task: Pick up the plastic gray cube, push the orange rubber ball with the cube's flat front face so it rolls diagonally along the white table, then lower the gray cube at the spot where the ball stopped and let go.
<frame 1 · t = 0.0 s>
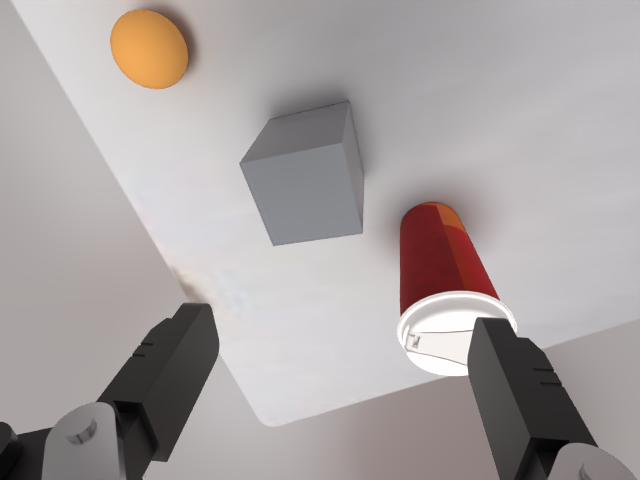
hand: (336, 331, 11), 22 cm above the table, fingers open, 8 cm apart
ball: (150, 51, 25), on the table
paper cup: (429, 225, 35), on the table
gray cube: (318, 149, 31), on the table
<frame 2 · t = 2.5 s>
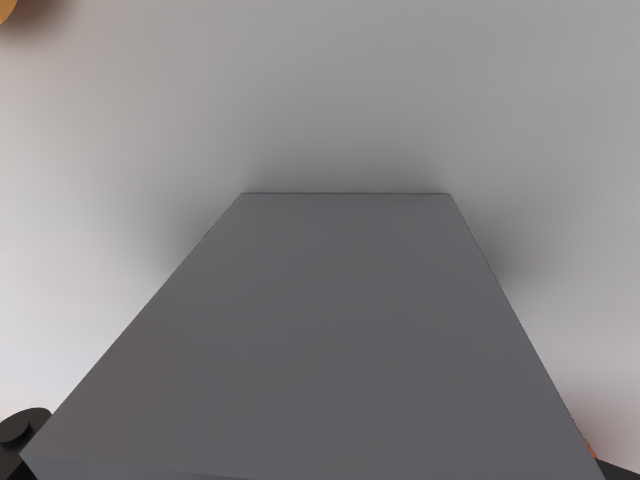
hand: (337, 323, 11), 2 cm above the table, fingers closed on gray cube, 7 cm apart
gray cube: (343, 279, 13), on the table, touching gripper
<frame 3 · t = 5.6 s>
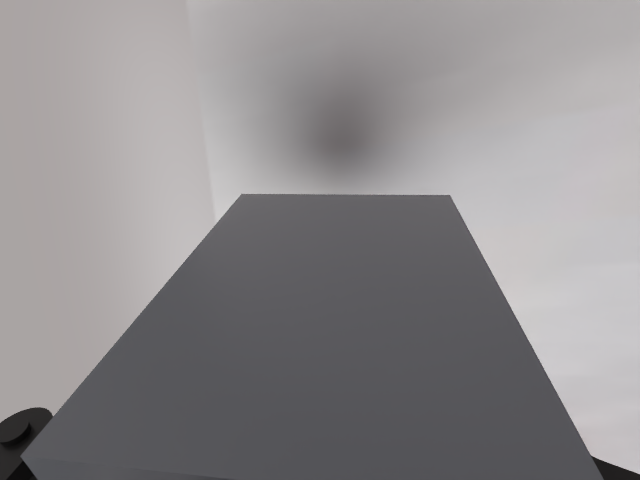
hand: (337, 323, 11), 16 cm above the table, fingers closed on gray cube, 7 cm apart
gray cube: (342, 280, 13), point 13 cm above the table, touching gripper
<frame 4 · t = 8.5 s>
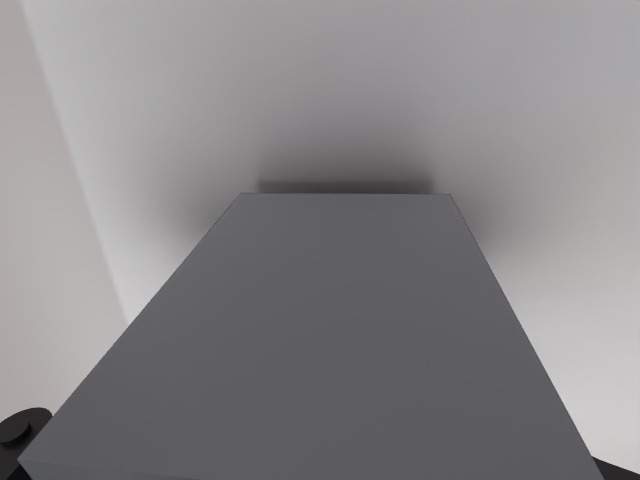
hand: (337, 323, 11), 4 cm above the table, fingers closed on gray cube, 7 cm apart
gray cube: (342, 279, 13), point 1 cm above the table, touching gripper
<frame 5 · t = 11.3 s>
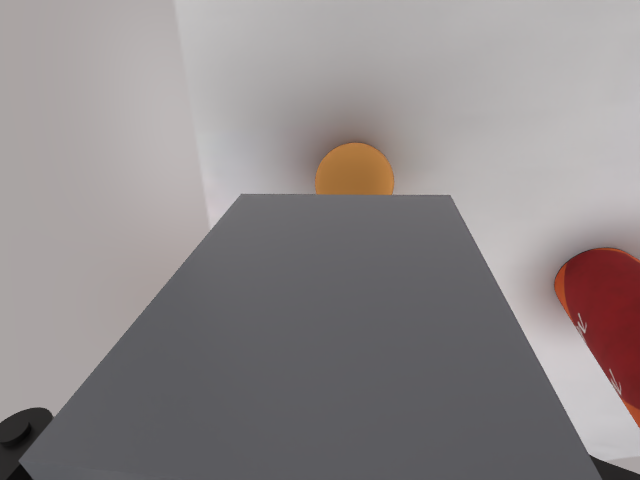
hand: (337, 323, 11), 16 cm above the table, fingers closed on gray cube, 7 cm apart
ball: (354, 183, 23), on the table
paper cup: (594, 278, 27), on the table
gray cube: (342, 280, 13), point 13 cm above the table, touching gripper
when the fingers open (3 cm above the table, at t = 13.8 s): gray cube stays where it is, on the table.
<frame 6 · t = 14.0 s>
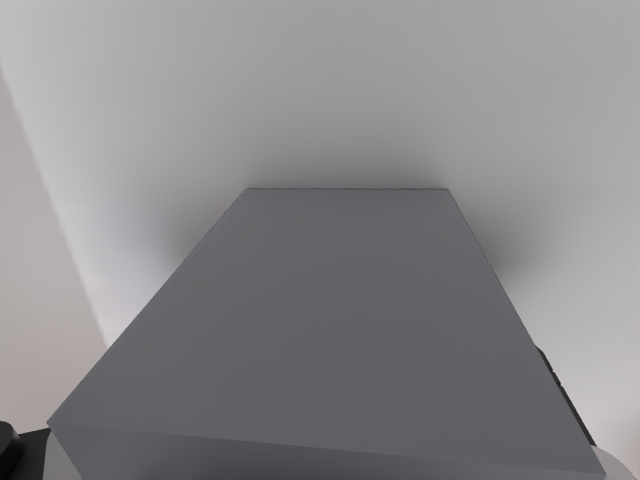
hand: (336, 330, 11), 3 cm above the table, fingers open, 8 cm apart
gray cube: (344, 273, 14), on the table
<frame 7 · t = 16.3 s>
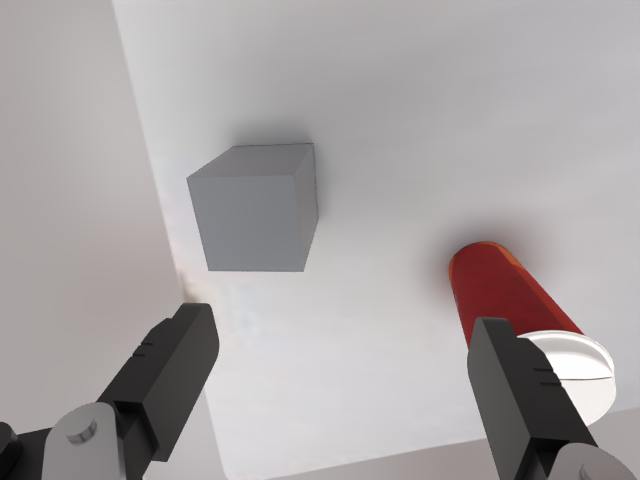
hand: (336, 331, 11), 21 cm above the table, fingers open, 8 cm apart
paper cup: (480, 267, 33), on the table
gray cube: (277, 184, 31), on the table
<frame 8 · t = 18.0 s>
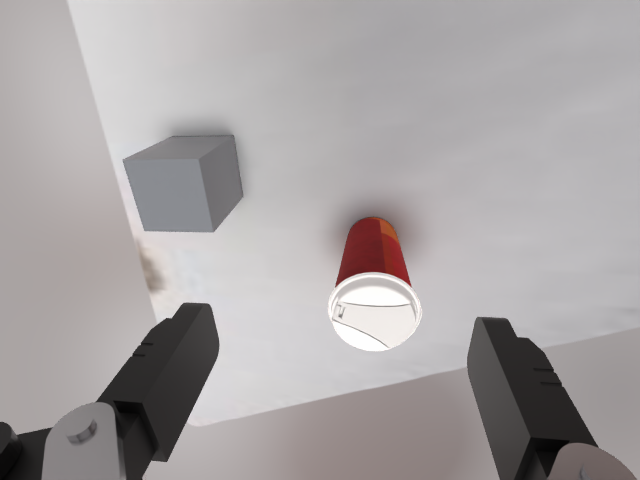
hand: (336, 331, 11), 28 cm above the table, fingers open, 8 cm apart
paper cup: (372, 238, 41), on the table
gray cube: (208, 167, 39), on the table
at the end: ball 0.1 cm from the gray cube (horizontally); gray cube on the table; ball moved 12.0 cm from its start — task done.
